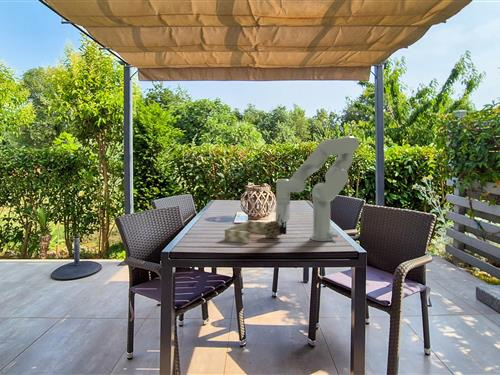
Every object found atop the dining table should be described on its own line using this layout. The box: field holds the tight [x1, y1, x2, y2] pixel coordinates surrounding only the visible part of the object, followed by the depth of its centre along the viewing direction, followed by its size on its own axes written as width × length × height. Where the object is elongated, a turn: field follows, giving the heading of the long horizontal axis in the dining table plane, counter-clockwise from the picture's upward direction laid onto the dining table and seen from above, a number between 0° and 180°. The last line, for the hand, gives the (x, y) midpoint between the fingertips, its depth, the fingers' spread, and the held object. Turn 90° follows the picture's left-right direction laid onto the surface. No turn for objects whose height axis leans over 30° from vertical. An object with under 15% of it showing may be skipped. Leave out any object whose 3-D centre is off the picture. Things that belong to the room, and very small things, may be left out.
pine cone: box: [247, 220, 283, 239], centre depth 186 cm, size 22×10×10 cm, turn 96°
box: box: [224, 220, 269, 244], centre depth 191 cm, size 16×28×6 cm, turn 152°
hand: (283, 233), depth 181 cm, fingers closed
